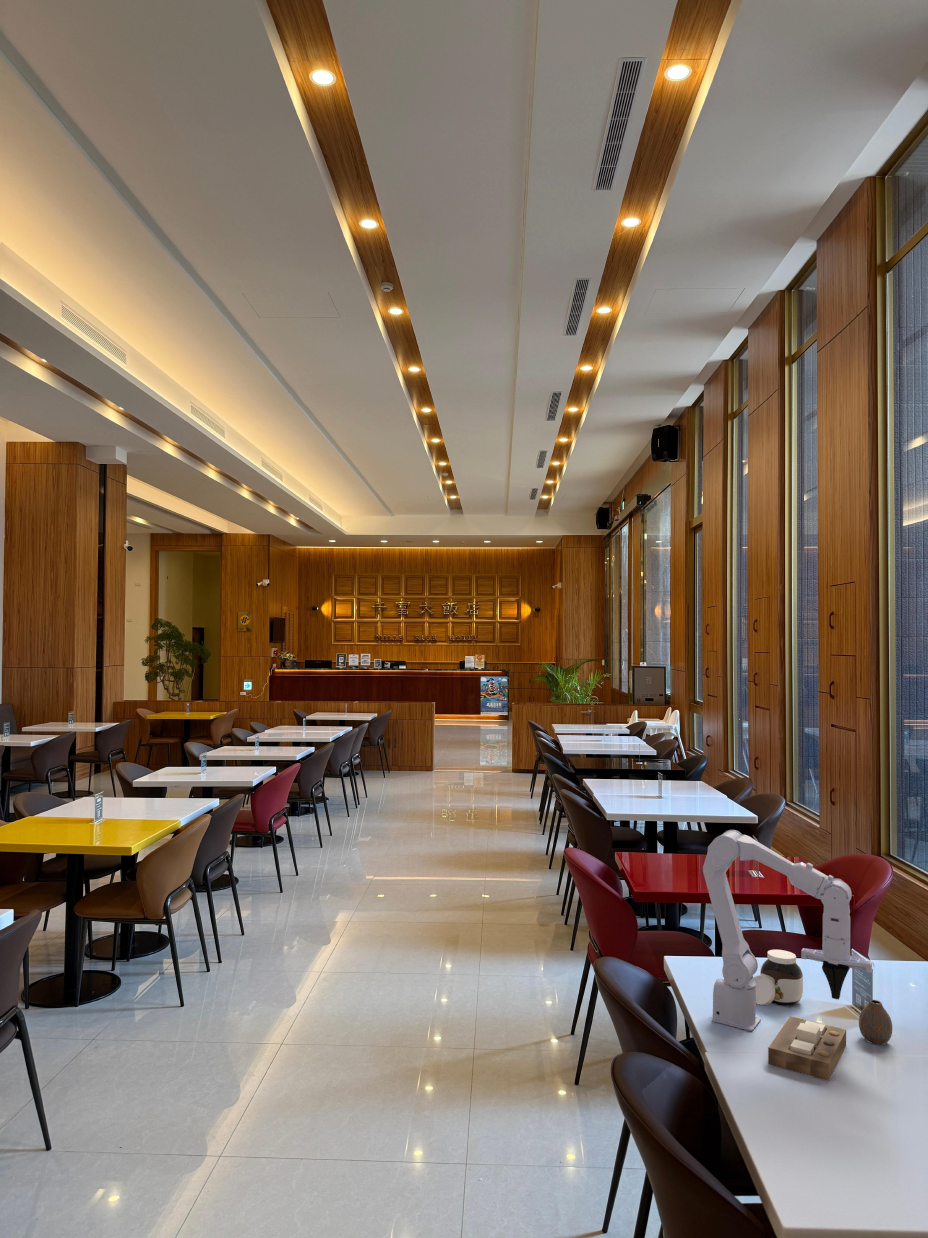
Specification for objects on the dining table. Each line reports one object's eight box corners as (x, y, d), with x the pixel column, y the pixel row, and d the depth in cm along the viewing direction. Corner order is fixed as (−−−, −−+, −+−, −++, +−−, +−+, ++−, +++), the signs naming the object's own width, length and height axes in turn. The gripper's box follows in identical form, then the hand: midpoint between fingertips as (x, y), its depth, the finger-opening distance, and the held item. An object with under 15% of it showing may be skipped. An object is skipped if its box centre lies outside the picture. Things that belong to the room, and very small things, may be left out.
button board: (768, 1064, 178) (768, 1046, 178) (790, 1031, 195) (790, 1015, 195) (828, 1081, 172) (829, 1063, 172) (846, 1046, 188) (846, 1029, 188)
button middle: (796, 1047, 183) (796, 1029, 183) (800, 1041, 186) (800, 1022, 186) (816, 1053, 180) (816, 1034, 181) (819, 1046, 184) (820, 1027, 184)
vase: (896, 1049, 187) (896, 1009, 188) (863, 1046, 189) (863, 1006, 189) (887, 1036, 194) (887, 997, 194) (855, 1033, 195) (855, 994, 196)
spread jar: (805, 1001, 214) (805, 954, 214) (796, 1016, 204) (796, 967, 205) (756, 990, 220) (757, 944, 221) (745, 1004, 210) (746, 956, 211)
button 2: (802, 1045, 188) (802, 1026, 188) (806, 1038, 191) (806, 1020, 191) (821, 1050, 185) (821, 1031, 186) (825, 1043, 189) (825, 1025, 189)
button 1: (790, 1065, 178) (790, 1046, 178) (794, 1058, 181) (794, 1039, 181) (810, 1071, 175) (810, 1051, 176) (814, 1063, 179) (814, 1044, 179)
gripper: (798, 934, 190) (798, 995, 190) (868, 947, 182) (868, 1011, 182) (805, 926, 196) (804, 986, 196) (873, 939, 188) (873, 1001, 187)
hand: (835, 997), depth 189 cm, fingers closed
